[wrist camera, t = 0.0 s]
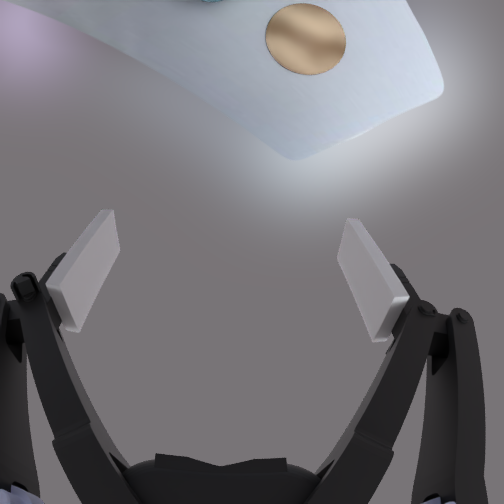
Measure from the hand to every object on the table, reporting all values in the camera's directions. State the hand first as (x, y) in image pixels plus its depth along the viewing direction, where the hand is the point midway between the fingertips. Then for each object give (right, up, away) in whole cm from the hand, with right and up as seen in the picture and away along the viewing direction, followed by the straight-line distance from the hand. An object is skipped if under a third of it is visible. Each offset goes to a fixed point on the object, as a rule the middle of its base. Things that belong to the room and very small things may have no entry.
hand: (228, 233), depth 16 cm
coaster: (+9, +28, +16) cm, 33 cm away
